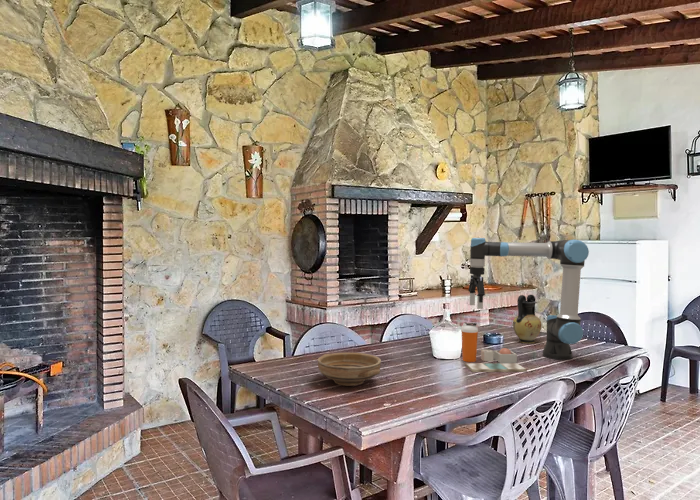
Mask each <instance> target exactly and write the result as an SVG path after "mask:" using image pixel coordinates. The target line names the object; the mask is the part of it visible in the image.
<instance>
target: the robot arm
mask: <svg viewBox="0 0 700 500" xmlns="http://www.w3.org/2000/svg"><path fill="white" fill-rule="evenodd" d="M469 248H470V253H469V254H470V255H469V258H470V260H469V263H470V264H469V266H470V267H469V274H470V279H469V285H468V292H469V306H475V305H477V306H476V308H477V310H480V309H481V310H483V309H484V296H485V295H486V292H485V285H484V284H485V283H484V277H483V276H482V275H485V266H486V265H485V263H486V257H507V256H508V257H510V256H511V257H536V258H537V257H539V258H540V257H541V258H547V259H549V260H550V259H551V260H559V262H560V263H559V265H560V267H562V276H561V277H562V279H561V293H560V294H561V295H560V310H559V313H558V314H557V315H556V314H555V315H554V314H552V315H551V314H549V315H547V317H546V341H545V344H544V348H543V351H542V356H543V357H544V358H548V359H554V360H562V361H563V360H564V361H565V360H572V359H573V351H572V349H571V346H570V345H575V344H577V343H578V342H580V341H581V340H582V339H583V337H584V329H583V328H582V326H581V323H582V321H581V319H582V318H581V317H580V316H579V301H580V300H579V299H580V290H581V289H580V286H581V285H580V284H581V274H582V273H581V272H582V269H583V268H584V267H585V264H586V263H585V261H586V260H587V258H588V257H589V254H590V253H589V252H590V250H589V247H588V245H587V244H586V243H585V242H584V241H582V240H579V239H563V240H555V241H554V240H553V241H550V240H549V241H547V242H517V241H516V242H513V241H512V242H509V241H486V238H485V237H472V238H471V240H470V247H469ZM476 290H477V292H476ZM476 293H477V295H476ZM476 296H477V303H476Z"/></svg>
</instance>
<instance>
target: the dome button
mask: <svg viewBox="0 0 700 500" xmlns="http://www.w3.org/2000/svg"><path fill="white" fill-rule="evenodd" d="M498 351H499V353H500V354H511V351H512V350H510V349H509V348H508V347H507V348H506V347H503V348H500V350H498Z"/></svg>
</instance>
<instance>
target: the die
mask: <svg viewBox="0 0 700 500" xmlns="http://www.w3.org/2000/svg"><path fill="white" fill-rule="evenodd" d="M480 360H482V361H484V362H494V350H492V349H481V351H480Z"/></svg>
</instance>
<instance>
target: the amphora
mask: <svg viewBox="0 0 700 500" xmlns="http://www.w3.org/2000/svg"><path fill="white" fill-rule="evenodd" d="M537 302H538V301H536V296H535V295H534V294H528V295H527V296H526V295H523V294H520V295H519V296H518V297H517V312H518V313H517V314H518V315H516V316H515V317H514V319H513V320H512V328H513V332H514V333H515V335H516V337H518V339H519V343H521V344H535V343H536V341H535V340H536V339H537V337H539V335H540V333H541V330H542V322H541V319H540V318H539V317H538V316H537V315H536V313H535V312H536V304H537Z"/></svg>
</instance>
